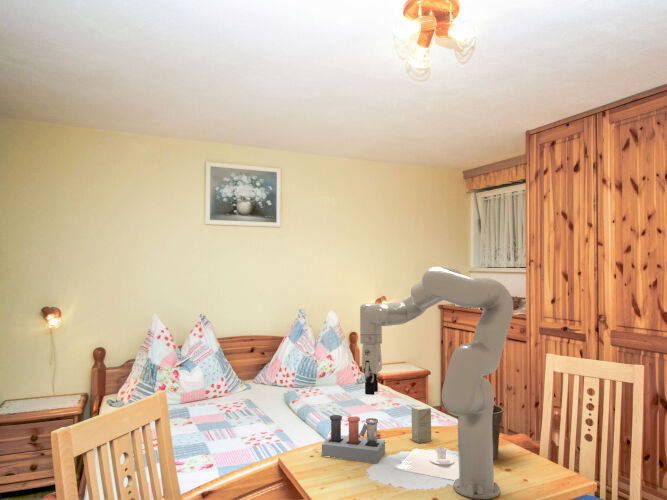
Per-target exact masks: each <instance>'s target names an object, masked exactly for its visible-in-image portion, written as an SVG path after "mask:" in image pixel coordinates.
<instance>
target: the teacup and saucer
mask: <svg viewBox="0 0 667 500" xmlns="http://www.w3.org/2000/svg"><path fill="white" fill-rule="evenodd" d="M435 452H436V454H434V455H431V456H430V457H429V461H430V462H431V463H433V464H436V465H442V466H446V465H451V464H453V463H454V462H455V459H454V458H453V457H452V456H449V455H447V454H448V453H447V448H446V447H444V446H437V447H436V451H435Z"/></svg>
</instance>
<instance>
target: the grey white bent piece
mask: <svg viewBox="0 0 667 500" xmlns="http://www.w3.org/2000/svg"><path fill="white" fill-rule="evenodd" d="M366 434H367V423H363V425H362V428H361V430H360V431H359V438H361V437H362V438H365V435H366ZM347 436H349V433H348V435H347Z"/></svg>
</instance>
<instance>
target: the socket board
mask: <svg viewBox="0 0 667 500" xmlns="http://www.w3.org/2000/svg"><path fill="white" fill-rule="evenodd" d="M385 453H386V440H385V439H378V438H377V445H375V446H370V445H367V437H366V438H365V437H360V438H359V443H356V444H352V443H349V436H348V435H341V441H338V442H334V441H331V435H330V436H329V437H328V438H327V439H326V440H325V441H324V442H322V443H321V457H323V456H330V457H329V458H331V457H335V458H334V459H339V458H342V459H341V460H348V461H357V462H365V463H374V464H379V462H380V461H381V459H382V457H383V456H384V455H385Z"/></svg>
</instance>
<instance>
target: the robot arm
mask: <svg viewBox="0 0 667 500" xmlns="http://www.w3.org/2000/svg"><path fill="white" fill-rule="evenodd" d="M410 288H411V289H410V296H408V297H407V298H405V299H404V300H402V301H400V302H386V303H384V302H383V303H372V302H371V303H362V304H361V305H360V308H359V331H360V332H359V333H360V336H359V338H360V339H359V342H360V344H361V345H362V348H361V349H362V351H361V371H362V373H363V375H364V393H365V395H367V396H369V395H371V396H374V395H375V393H378V391H379V389H378V388H379V381H378V380H379V379H378V378H379V377H378V373H380V372H381V371H382V369H383V361H382V347H381V346H382V344H383V333H382V332H383V328H382V327H388V326H399V325H404V324H406V323H408V322H411V321H413V320H414V319H416V318H418V317H420V316H422V315H423V314H424V313H426V311H427V309H430V308H431V307H434V306H435V305H437V304H439V303H440V302H443V301H446V302H448V303H451V304H454V305H457V306H460V307H463V308H467V309H482V312H481V315H480V317H479V318H478V320H477V323H476V325H475V330H474V333H473V337H472V339H471V341H470V342H466V343H463V344H460V345H459V346H458V347H457V348H456V349H454V351H453V352H452V355H451V357H450V360H449V363H448V367H447V371H446V373H445V378H444V382H443V385H442V388H441V389H442V390H441V400H442V404H443V406H444V408H445V410H446V411H447V412H448V413H449V414H452V416H456V417H457V416H458V419H457V455H458V464H459V478H458V479H456V480H453V486H452V487H453V490H454V491H455V492H457V493H458V494H459V495H462V496H464V497H467V498H471V499H476V500H490V499H494V498H496V497H498V496H499V495H500V493H501V489H500V488H501V487H500V486H499V485H498V483H496V482H495V476H494V475H495V474H494V470H495V469H494V459H493V438H492V415H493V406H494V405H495V404H494V403H495V392H494V387H493V385H492V383H491V382H490V381H489V380H488V379H487V378H485V376H487V375H491V374H493V373H494V372H495V371H497V369H498V368H499V365H500V362H501V359H502V355H503V351H504V348H505V344H506V340H507V336H508V333H509V329H510V326H511V322H512V319H513V314H514V301H513V297H512V295H511V293H510V291H509V290H508V289H507V287H506V286H505V285H503V283H501V282H500V281H498V280H496V279H493V278H489V277H488V278H487V277H470V276H466V275H463V273H462V272H461V271H460V270H459V269H458V268H455V267H452V266H440V265H438V266H433V267H430V268H428V269H427V270H426V271H425V272H424V273H423V275H422V278H421V281H418V282H417V283H415V284H413V285H412V287H410Z"/></svg>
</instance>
